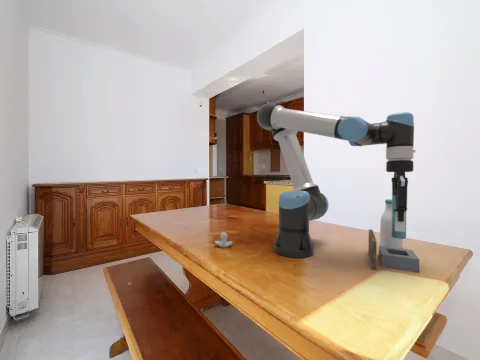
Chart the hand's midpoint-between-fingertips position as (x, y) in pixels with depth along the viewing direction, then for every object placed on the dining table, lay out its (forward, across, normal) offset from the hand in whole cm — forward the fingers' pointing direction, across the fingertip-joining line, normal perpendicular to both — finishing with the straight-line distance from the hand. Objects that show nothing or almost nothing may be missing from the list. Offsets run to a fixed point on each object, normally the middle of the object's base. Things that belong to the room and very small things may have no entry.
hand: (398, 229), depth 78 cm
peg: (+3, 0, 0) cm, 3 cm away
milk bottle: (+12, +19, 0) cm, 23 cm away
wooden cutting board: (+12, 0, +8) cm, 14 cm away
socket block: (+12, 0, 0) cm, 12 cm away
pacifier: (+12, -10, +62) cm, 64 cm away
